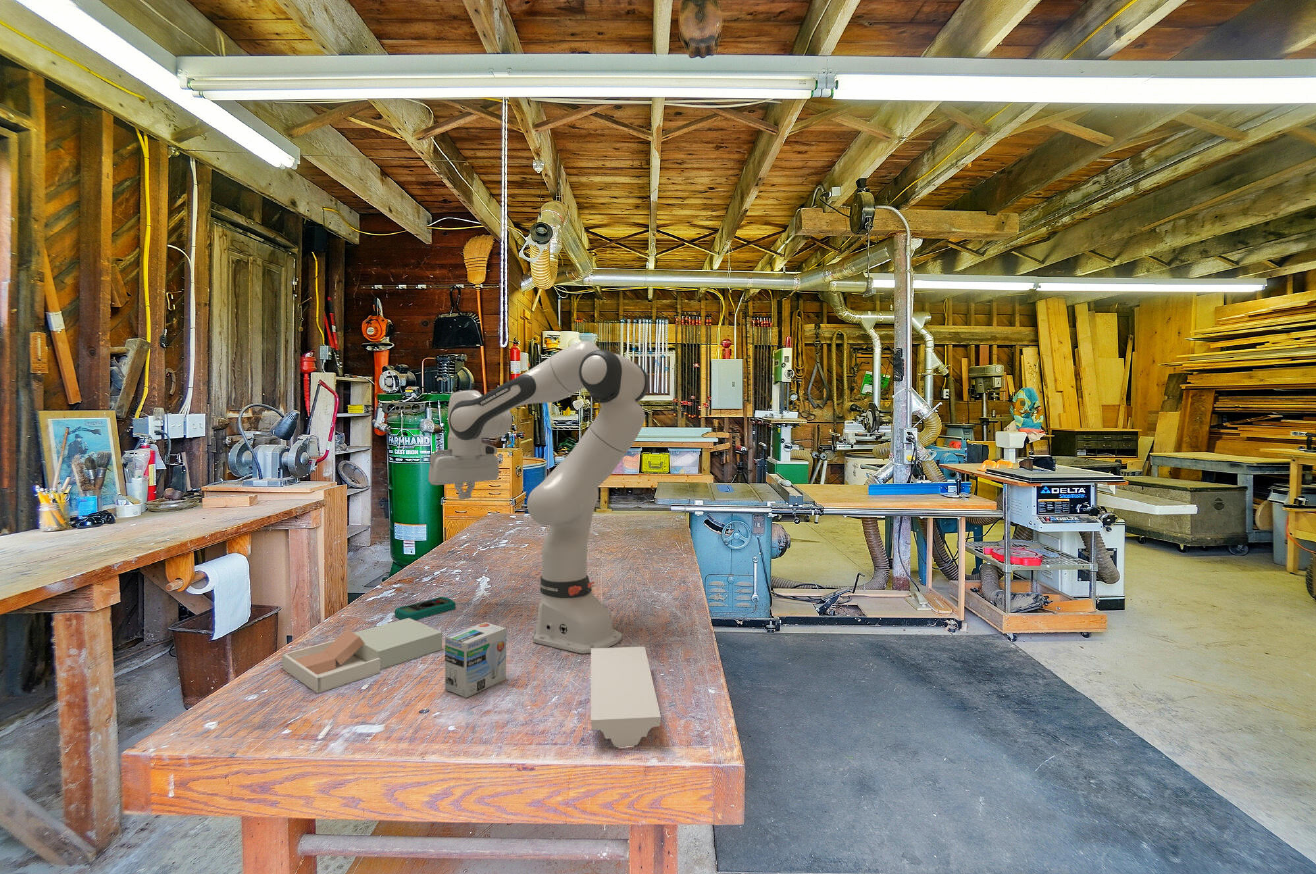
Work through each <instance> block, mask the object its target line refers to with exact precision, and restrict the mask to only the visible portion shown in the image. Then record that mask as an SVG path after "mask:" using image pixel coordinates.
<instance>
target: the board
mask: <svg viewBox="0 0 1316 874" xmlns="http://www.w3.org/2000/svg"><path fill="white" fill-rule="evenodd" d="M353 633H354V634H356V635H358V636H359V637H360V638H361V639H362V640H363V641H364V643H365V644H364V645H363V646H361V647H360V648H359V649H358V650H357V651H356V652H355V653H354V654H353V655H354V656H356V657H357V658H359V659H361V660H363V661H365V662H367V661H370V660H373V659H377V658H380V670H383V669H386V668H390V667H392V666H395V665H399V664H401V663H405V662H407V661H411V660H414V659H417V658H420V657H422V656H426V655H430V654H432V653H435V652H437V651H441V650H443V631H441V630H439V629H436V628H433V627H431V626H429V625H426V624H425V623H422V622H419V621H418V620H413V619H410V618H407V619H403V620H401V619H399V620H395V621H393V622H388V623H385V624H381V625H377V626H374V627H370V628H366V629H363V630H359V631H355V632H353Z"/></svg>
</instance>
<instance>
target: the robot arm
mask: <svg viewBox="0 0 1316 874" xmlns="http://www.w3.org/2000/svg"><path fill="white" fill-rule="evenodd" d="M649 387H650V379H649V376H648V374H647V372H646V371H645V370H644V368H643V367H642V366H640V365H639V364H637V363H635V362H633V361H631V360H630V359H629V358H628V357H626V356H624V355H621V354H618V353H614V352H613V351H610V350H605V349H600V348H599V346H597V345H596V344H595V343H593V342H591V341H588V340H583V341H580V342H576V343H575V344H572V345H570V346H567V347H565V348H562V349H561V350H559V351H557V352H556V353H554V354H553V355H551V356H550V357H547V359H545V360H543V361H542V362H539V363H538V364H537V365H536V366H534V367H532V368H531V369H529V370H527V371H525V372H523V373H522V374H520V375H518V376H517V377H514V378H512V379H511V380H509V381H507V382H505V383H502V384H501V385H499V386H497V387H496V388H494V389H492V390H490V391H488V392H487V393H484V394H481V392H479V391H478V390H476V389H462V390H457V391H455V392H453V393H451V395H450V397H449V399H448V401H449V402H448V407H447V425H448V428H449V429H448V430H449V431H448V436H447V449H443V450H441V449H436V450H434V451H433V452H432V453H431V454H430V455H429V468H428V479H427V480H428V482H429V483H430V485H433V486H442V485H443V486H445V485H454V488H455V490H456V491H457V493H458V500H468V499H472V493H473V491H474V488H475V487H476V482H487V481H496V480H497V479H498V477H499V476H500V475H499V474H500V466H499V465H500V464H499V459H498V456H496V455H497V454H498V448H497V446H494V445H490V444H488V443H486V442H485V443H484V442H482V439H492V438H494V439H495V438H500V437H503V436H505V435H507V434H508V433H509V432H510V430H511V429H512V425H513V415H512V412H511V410H512V409H514V408H517V407H520V406H524V405H529V404H530V405H532V404H548V403H555V402H560V401H561V400H564V399H567V398H569V397H571V396H572V395H574V394H576V393H577V392H579V391H581V390H583V389H584V388H585V390H586V391H587V392H588V393H589V395H590V397H591V399H592V400H593V402H594V403H596V404H600V409H599V412H598V414H597V416H596V417H595V418H594V420H593V421H592V422H591V423H590V425H589V426H588V428H587V429H586V431H584V433H583V435H582V437H580V439H579V440H578V442H577V443H576V445H575V446H574V447H573V449H572V450H571V451H570V452H569V454H567V456H566V457H565V458H564V459H563V460H561V461H560V462H559V464H557V466H556V467H555V468H554V469H553V470H552V471H551V472H550V473H549V474H548V475H547V476H546V478H544V480H543V481H541V482H540V484H538V485H536V486H535V488H533V489H532V490H531V491H530V493H529V495H528V497H527V501H526V507H527V511H528V514H529V516H530V518H531V519H532V520H533V521H534V522H536V523H537V524H539V525H543V526H549V527H548V530H547V534H546V536H545V539H544V541H543V543H542V548H541V553H542V555H541V564H542V565H541V566H542V567H541V573H542V574H541V576H540V581H539V590H540V591H539V592H540V593H541V597H540V602H539V605H538V610H537V611H538V612H537V621H536V629H535V631H534V634H535V635H534V637H533V643H536V644H540V645H543V646H547V647H551V648H557V649H559V650H565V651H568V652H569V651H570V652H574V653H579V654H589V653H590V654H591V648H611V647H612V646H614V645H616V644H617V643H619V642H620V641H622V639H623V634H622V632H620V631H618V630H616V629H614V628H613V620H612V615H611V613H610V612H609V610H608V609H607V607H606V606H604V605H603V603H601V601H600V600H599V599H598V597H596V596H595V595H594V593H593V589H592V588H593V587H595V585H594V584H595V583H596V582H595V581H590V578H589V575H588V569H587V568H588V567H587V566H588V564H587V563H588V541H589V537H590V536H589V535H590V530H591V524H592V521H593V514H594V510H595V507H596V504H597V503H598V500H599V489H598V488H599V487H600V485H601V484H603V483H604V482H605V481H607V479H608V478H609V477H610V476H611V475H612V473H614V471H615V469H616V468H617V466H618V465H619V464H620V462H621V461H622V460H623V459H624V457H625V455H626V454H627V453H628V452H629V450H630V448H631V447H632V446H633V445H634V443H635V441H636V439H637V437H638V436H639V434H640V431H641V430H642V428H643V426H644V423H645V420H646V414H645V410H644V409H643V407H642V406H641V405H640V404H639V403H638V402H639V401H641V400H642V399H643V398H645V396H646V395H647V393H648V391H649ZM464 483H466V486H467V487H466V489H465V491H464V489H463V487H464Z"/></svg>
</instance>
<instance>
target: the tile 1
mask: <svg viewBox="0 0 1316 874" xmlns="http://www.w3.org/2000/svg"><path fill="white" fill-rule="evenodd" d="M294 660H295V661H297V662H298V663H300V664H302V665H303V666H305V667H306V668H308V669H309V670H311V671H312V672H314V673H315V674H320V673H324V672H327V671H331V670H334V669H336V664H335V658H334V657H332V656H331V655H329V654H328V653H326V652H325V651H323V652H320V653H316V654H312V655H308V656H305V657H301V658H297V659H294Z"/></svg>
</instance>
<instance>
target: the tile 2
mask: <svg viewBox="0 0 1316 874" xmlns="http://www.w3.org/2000/svg"><path fill="white" fill-rule="evenodd" d="M354 633H355V632H352V631H351V630H349V629H346V630H345V631H343V632H342V634H341V635H339V637H337V638H335V639H334V640H335V641H334V642H333V643H332V644H330V645H329V646H328V647H327V648H326V649H325V650H324V651H325V652H326V653H328V654H329V655H331V656H332V657H334V658H335V661H336V662H337V663H339V664H340V665H342V664H343V663H344V662H345V661H346V660H347V659H348V658H349V657H350V656H352V655H353V654H354V653H355V652H356V651H357V650H358V649H359V648H360V647H361V646H363V645H364V644H365V643H364V641H363V640H362V639H361V638H360V637H359V636H358V635H356V634H354Z"/></svg>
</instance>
